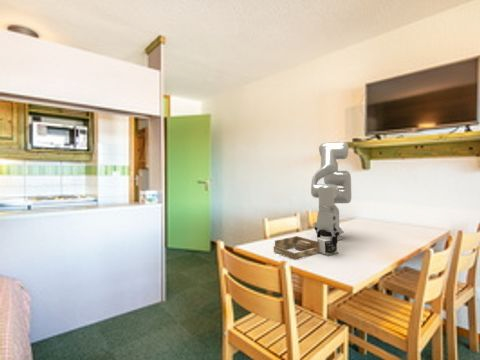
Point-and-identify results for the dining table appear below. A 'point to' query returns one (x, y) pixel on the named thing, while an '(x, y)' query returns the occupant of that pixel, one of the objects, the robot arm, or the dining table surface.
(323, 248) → the medicine bottle
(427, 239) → the dining table surface
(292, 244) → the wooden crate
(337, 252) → the mat
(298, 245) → the offcut stack
